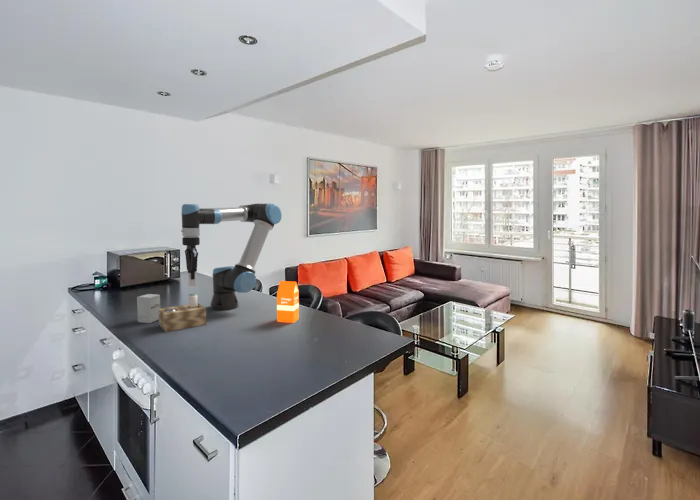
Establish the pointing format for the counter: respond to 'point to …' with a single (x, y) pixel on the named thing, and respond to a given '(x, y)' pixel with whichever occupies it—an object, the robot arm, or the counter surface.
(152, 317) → the supplement box
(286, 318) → the orange juice
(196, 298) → the cream peg
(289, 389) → the counter surface
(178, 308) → the oak socket block
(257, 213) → the robot arm
